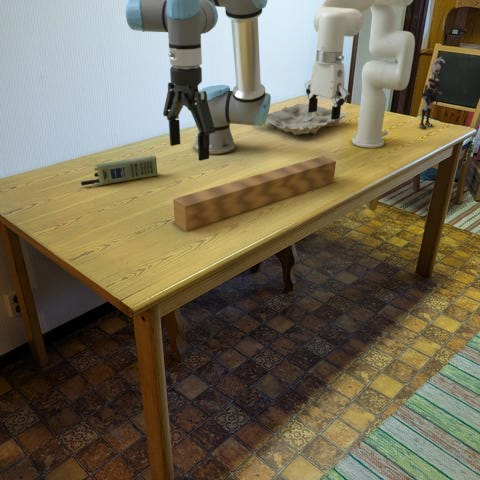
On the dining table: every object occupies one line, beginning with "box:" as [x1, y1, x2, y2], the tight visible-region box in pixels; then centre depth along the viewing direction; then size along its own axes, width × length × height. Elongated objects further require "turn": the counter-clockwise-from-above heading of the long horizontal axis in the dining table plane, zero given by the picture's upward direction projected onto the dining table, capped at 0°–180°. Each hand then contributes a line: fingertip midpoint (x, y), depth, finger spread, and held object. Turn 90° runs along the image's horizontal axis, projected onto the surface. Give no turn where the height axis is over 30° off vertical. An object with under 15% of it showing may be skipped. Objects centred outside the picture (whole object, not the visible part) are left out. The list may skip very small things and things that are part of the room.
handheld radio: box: [80, 155, 159, 187], centre depth 164 cm, size 7×3×25 cm
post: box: [172, 155, 337, 232], centre depth 152 cm, size 58×6×7 cm, turn 128°
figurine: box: [419, 56, 446, 130], centre depth 216 cm, size 15×6×30 cm, turn 132°
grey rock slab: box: [265, 103, 350, 136], centre depth 219 cm, size 38×6×30 cm
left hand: (189, 151), depth 130 cm, fingers open, 13 cm apart
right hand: (323, 115), depth 156 cm, fingers open, 9 cm apart
